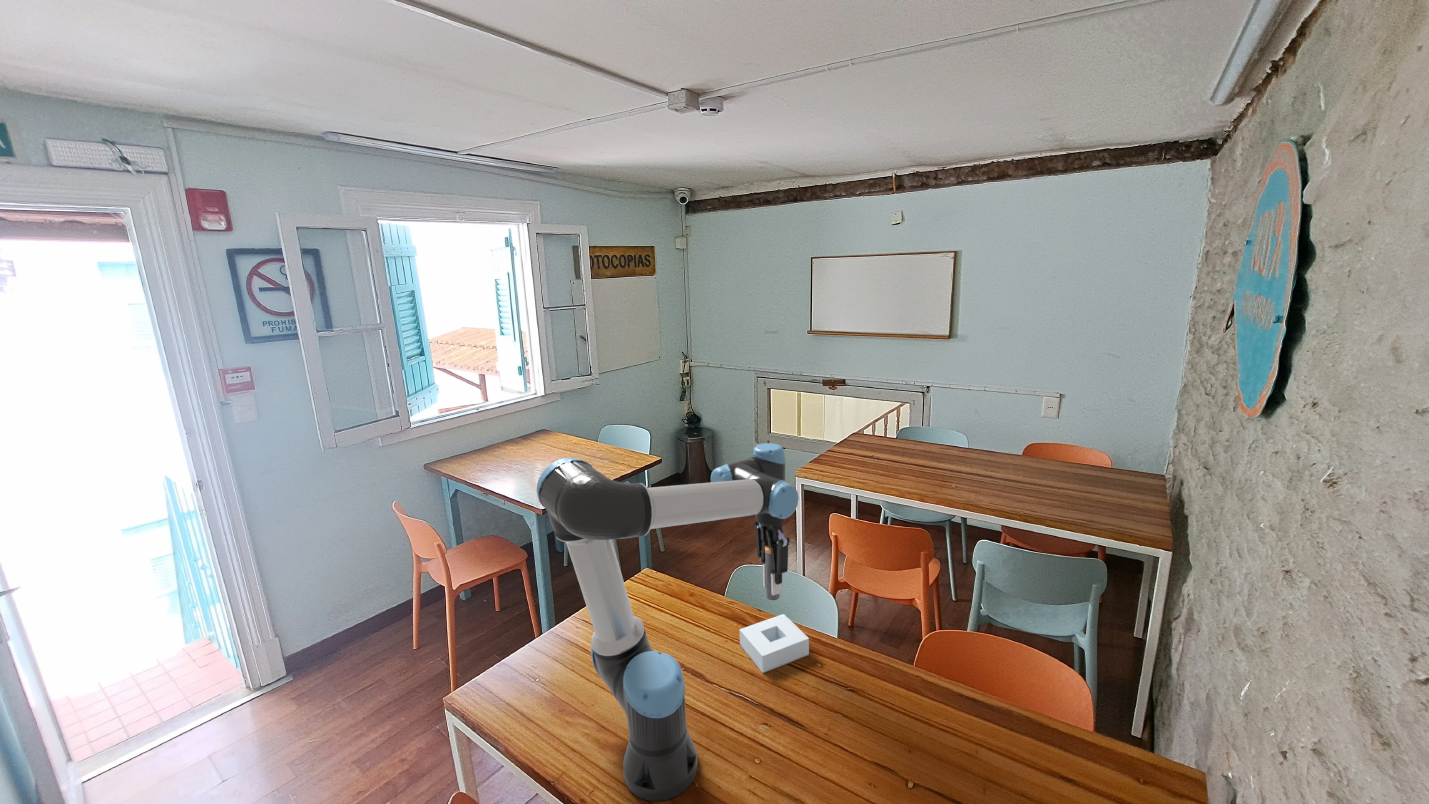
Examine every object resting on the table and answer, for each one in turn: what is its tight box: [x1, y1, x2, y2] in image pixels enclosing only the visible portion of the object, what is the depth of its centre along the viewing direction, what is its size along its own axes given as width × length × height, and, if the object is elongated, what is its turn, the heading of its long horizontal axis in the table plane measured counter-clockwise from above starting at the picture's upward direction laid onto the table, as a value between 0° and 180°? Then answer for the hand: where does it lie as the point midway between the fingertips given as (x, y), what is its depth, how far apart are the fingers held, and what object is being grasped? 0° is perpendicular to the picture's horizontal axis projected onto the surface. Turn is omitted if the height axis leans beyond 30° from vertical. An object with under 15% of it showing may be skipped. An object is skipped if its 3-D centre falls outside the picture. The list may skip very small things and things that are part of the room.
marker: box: [765, 545, 781, 601], centre depth 140 cm, size 4×4×14 cm
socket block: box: [739, 613, 810, 674], centre depth 145 cm, size 12×14×5 cm
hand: (772, 589), depth 141 cm, fingers closed on marker, 3 cm apart
